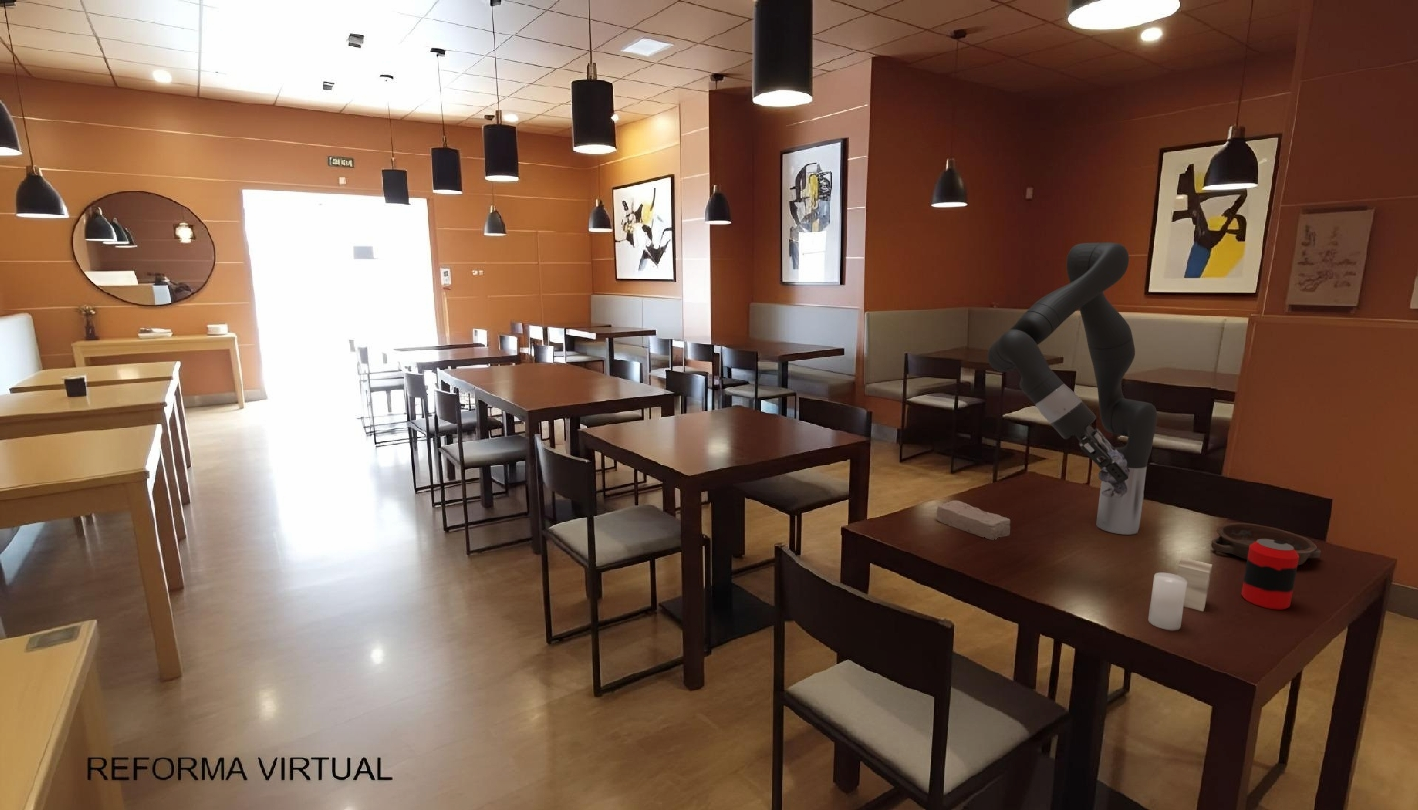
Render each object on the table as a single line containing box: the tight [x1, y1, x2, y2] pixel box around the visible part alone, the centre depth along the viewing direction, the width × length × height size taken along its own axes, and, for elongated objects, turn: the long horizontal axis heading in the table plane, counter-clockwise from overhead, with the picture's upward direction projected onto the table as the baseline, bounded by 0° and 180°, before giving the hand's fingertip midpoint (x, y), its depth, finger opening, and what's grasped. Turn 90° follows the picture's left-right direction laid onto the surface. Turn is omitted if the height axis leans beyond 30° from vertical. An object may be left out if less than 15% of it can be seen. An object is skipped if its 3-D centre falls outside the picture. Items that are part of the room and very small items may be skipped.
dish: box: [1210, 522, 1322, 566], centre depth 157 cm, size 17×22×5 cm
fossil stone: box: [1098, 449, 1129, 497], centre depth 137 cm, size 5×5×10 cm
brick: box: [936, 500, 1011, 541], centre depth 173 cm, size 17×8×5 cm, turn 35°
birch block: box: [1176, 557, 1213, 612], centre depth 134 cm, size 5×5×8 cm
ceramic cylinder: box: [1147, 572, 1187, 631], centre depth 126 cm, size 5×5×9 cm
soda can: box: [1241, 539, 1299, 611], centre depth 134 cm, size 8×8×12 cm
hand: (1124, 476), depth 136 cm, fingers closed on fossil stone, 4 cm apart
